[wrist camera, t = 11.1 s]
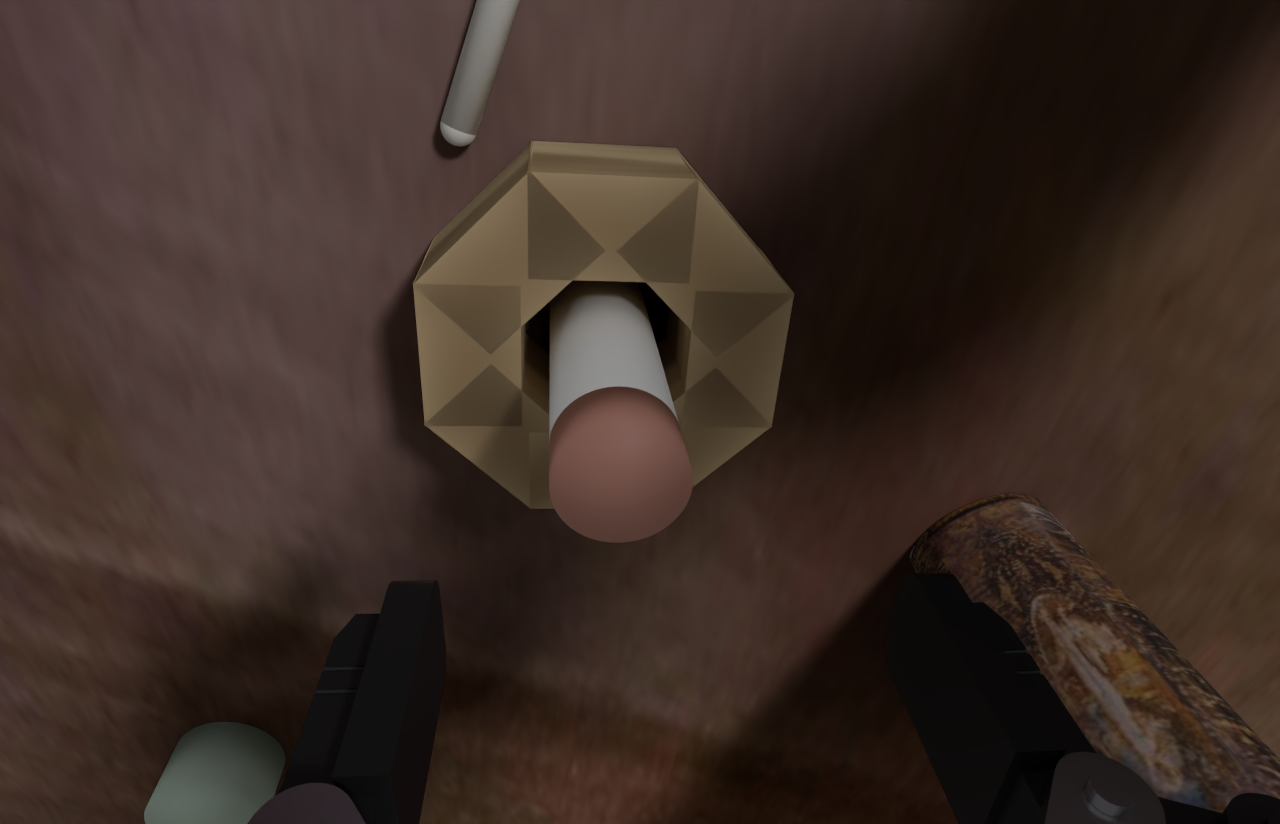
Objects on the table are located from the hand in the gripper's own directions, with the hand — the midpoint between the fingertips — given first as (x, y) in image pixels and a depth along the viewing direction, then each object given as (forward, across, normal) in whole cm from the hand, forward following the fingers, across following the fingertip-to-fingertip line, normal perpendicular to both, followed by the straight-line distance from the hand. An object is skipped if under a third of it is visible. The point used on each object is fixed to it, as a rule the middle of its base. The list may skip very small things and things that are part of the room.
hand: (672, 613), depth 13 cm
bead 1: (+13, +16, +20) cm, 29 cm away
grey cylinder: (+13, +1, 0) cm, 13 cm away
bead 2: (+13, +1, 0) cm, 13 cm away
